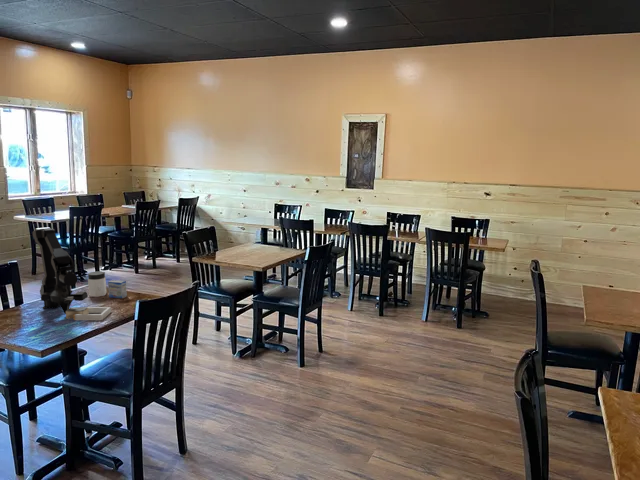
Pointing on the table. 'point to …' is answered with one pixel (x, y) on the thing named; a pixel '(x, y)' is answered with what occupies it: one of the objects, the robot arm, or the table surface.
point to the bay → (102, 310)
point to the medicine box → (117, 289)
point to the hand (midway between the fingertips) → (65, 313)
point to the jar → (97, 284)
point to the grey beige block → (75, 311)
